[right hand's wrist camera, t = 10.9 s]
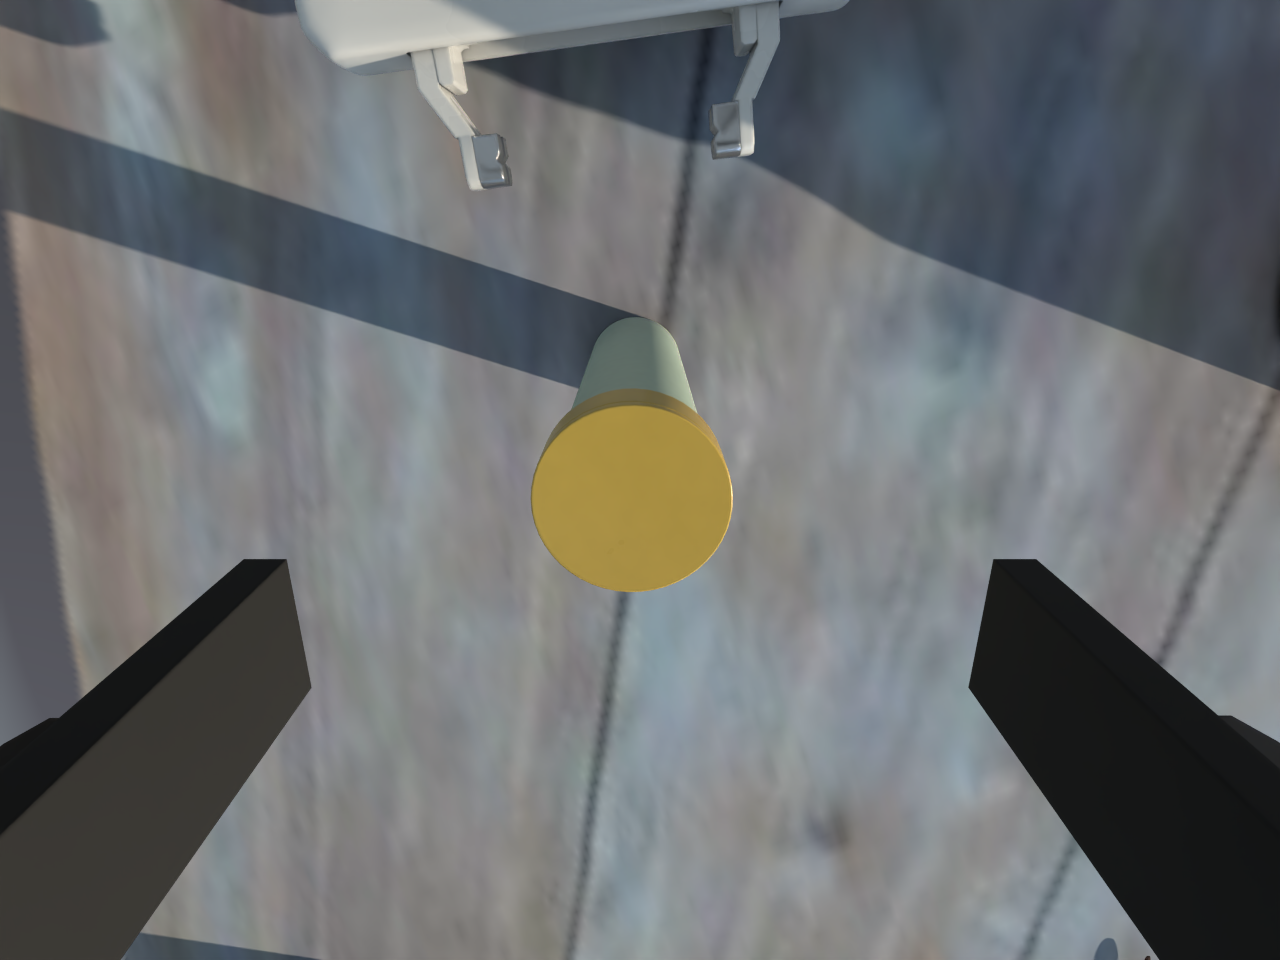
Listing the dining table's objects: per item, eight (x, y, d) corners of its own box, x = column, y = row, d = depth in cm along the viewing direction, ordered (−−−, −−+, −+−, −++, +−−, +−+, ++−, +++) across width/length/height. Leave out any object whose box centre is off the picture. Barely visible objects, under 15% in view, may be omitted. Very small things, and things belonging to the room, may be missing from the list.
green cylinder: (629, 298, 35) (619, 377, 17) (697, 355, 36) (753, 486, 18) (573, 367, 36) (511, 507, 19) (641, 421, 37) (643, 603, 20)
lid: (619, 348, 19) (617, 361, 17) (762, 466, 20) (774, 490, 18) (503, 489, 20) (490, 515, 18) (644, 592, 21) (644, 626, 19)
